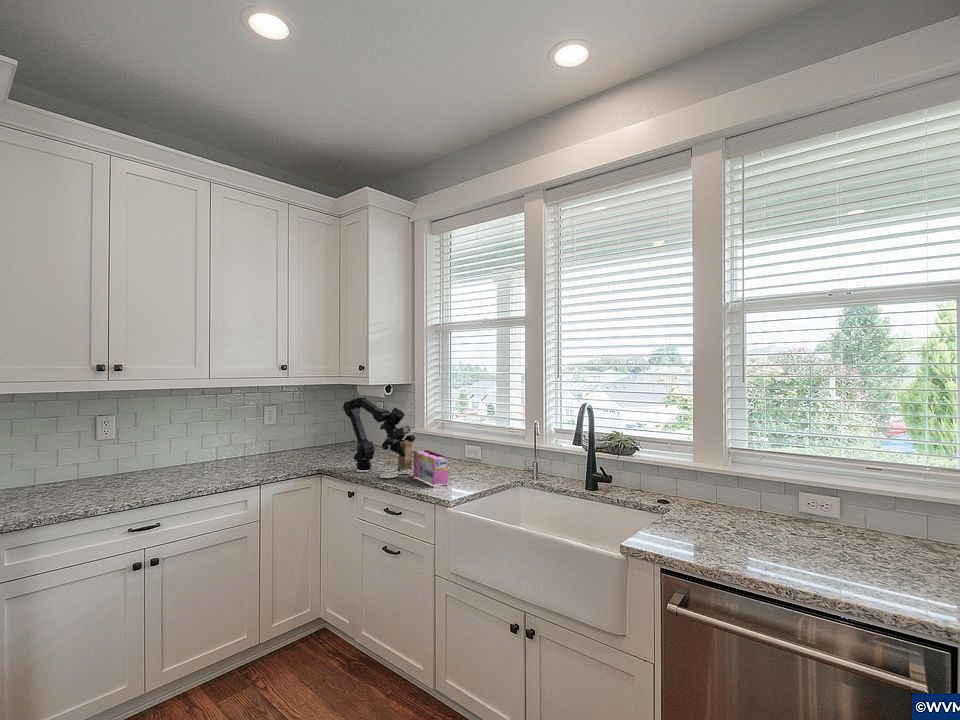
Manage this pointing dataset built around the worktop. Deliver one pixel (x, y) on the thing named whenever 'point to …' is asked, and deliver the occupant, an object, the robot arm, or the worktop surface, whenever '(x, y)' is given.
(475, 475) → the worktop surface
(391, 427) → the robot arm
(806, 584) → the worktop surface
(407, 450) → the walnut block
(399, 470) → the bronze balance
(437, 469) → the gum box
